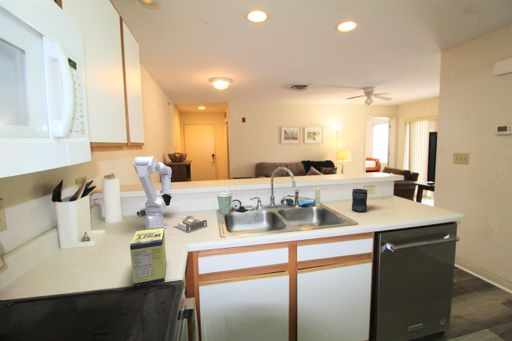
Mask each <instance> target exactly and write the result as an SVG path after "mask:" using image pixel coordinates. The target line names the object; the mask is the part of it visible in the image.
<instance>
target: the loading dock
mask: <svg viewBox="0 0 512 341" xmlns="http://www.w3.org/2000/svg"><path fill="white" fill-rule="evenodd" d="M207 224H208V221H207V219H203V220H201V219H200V222H197V223H193V224H190V225H185V224H183V222H178V221H177V224H175V225H172V227H173V228H176V229H178V230H180V231H182V232H184V233H186V234H190V233H192V232H196V231H199V230H201V229H203V228H204V229H205V228H207V227H208V225H207Z"/></svg>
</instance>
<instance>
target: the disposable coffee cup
mask: <svg viewBox="0 0 512 341" xmlns="http://www.w3.org/2000/svg"><path fill="white" fill-rule="evenodd" d="M216 197H217V202H218V208H219V214H221V215H228V214H230V212H231V205H232V197H233V194H232V192H231V191H229V190H228V191H220V192H217V194H216Z"/></svg>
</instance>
